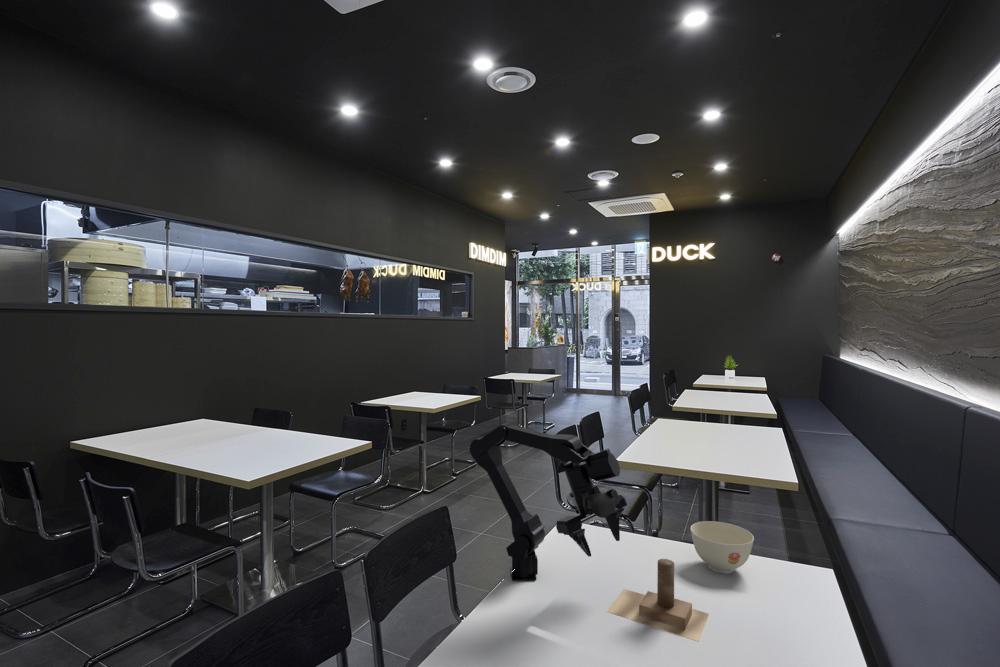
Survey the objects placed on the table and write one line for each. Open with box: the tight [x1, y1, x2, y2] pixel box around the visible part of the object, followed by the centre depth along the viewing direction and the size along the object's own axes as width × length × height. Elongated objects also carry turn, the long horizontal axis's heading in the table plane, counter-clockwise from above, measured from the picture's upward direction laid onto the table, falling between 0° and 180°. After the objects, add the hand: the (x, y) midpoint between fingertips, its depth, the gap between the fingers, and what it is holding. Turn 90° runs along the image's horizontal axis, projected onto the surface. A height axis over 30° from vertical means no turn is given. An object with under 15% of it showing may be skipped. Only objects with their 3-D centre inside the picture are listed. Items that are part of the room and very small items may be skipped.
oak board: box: [606, 588, 710, 642], centre depth 114 cm, size 20×12×1 cm, turn 58°
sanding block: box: [639, 558, 693, 630], centre depth 113 cm, size 10×7×12 cm
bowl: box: [690, 520, 755, 575], centre depth 138 cm, size 16×16×10 cm
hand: (604, 548), depth 122 cm, fingers open, 9 cm apart
